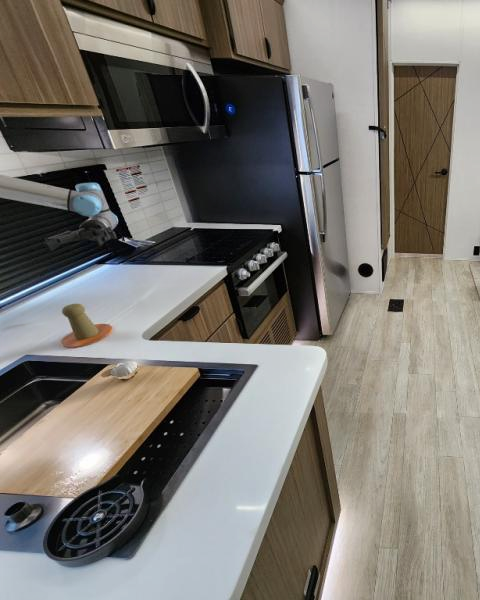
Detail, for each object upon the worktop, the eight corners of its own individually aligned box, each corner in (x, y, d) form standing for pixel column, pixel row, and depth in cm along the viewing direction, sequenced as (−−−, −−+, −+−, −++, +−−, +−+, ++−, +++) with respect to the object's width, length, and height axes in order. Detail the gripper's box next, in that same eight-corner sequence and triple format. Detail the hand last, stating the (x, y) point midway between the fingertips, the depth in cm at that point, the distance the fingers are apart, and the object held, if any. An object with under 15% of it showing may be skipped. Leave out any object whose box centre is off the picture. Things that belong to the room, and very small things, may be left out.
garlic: (119, 387, 88) (111, 372, 86) (112, 378, 91) (104, 364, 89) (145, 374, 92) (137, 360, 90) (137, 367, 95) (130, 353, 93)
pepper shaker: (92, 338, 107) (76, 309, 102) (70, 340, 106) (53, 311, 101) (102, 328, 112) (87, 300, 107) (82, 330, 111) (66, 302, 106)
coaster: (50, 347, 104) (49, 346, 104) (85, 325, 115) (84, 323, 115) (90, 347, 104) (90, 346, 103) (122, 325, 115) (121, 323, 115)
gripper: (136, 233, 137) (121, 250, 120) (60, 241, 129) (32, 260, 112) (129, 215, 133) (112, 230, 116) (50, 222, 125) (19, 239, 108)
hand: (73, 245), depth 114 cm, fingers open, 13 cm apart
